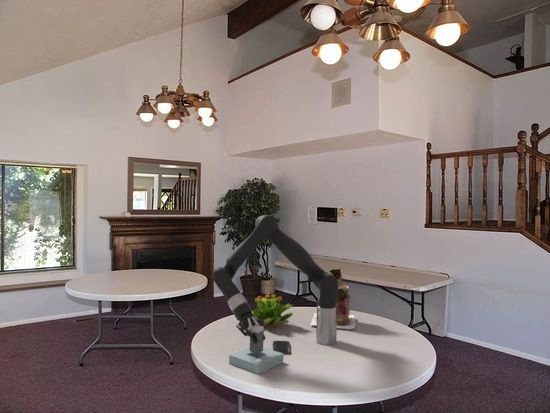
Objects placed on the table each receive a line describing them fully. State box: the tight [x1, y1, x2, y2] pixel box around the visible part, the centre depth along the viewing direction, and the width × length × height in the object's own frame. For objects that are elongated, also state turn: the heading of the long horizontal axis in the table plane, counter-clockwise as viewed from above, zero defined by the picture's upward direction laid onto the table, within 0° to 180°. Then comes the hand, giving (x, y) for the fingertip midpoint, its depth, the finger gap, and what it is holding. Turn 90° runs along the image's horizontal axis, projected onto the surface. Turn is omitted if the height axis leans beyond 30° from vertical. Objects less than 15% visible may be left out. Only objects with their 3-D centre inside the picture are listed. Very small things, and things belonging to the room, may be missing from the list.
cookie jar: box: [310, 266, 356, 331], centre depth 219 cm, size 25×25×32 cm
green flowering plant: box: [252, 293, 294, 328], centre depth 212 cm, size 25×24×18 cm
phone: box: [272, 340, 291, 355], centre depth 177 cm, size 8×1×15 cm
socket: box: [228, 346, 284, 375], centre depth 159 cm, size 16×16×4 cm
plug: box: [249, 325, 265, 353], centre depth 159 cm, size 4×4×10 cm
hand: (260, 341), depth 158 cm, fingers closed on plug, 4 cm apart
